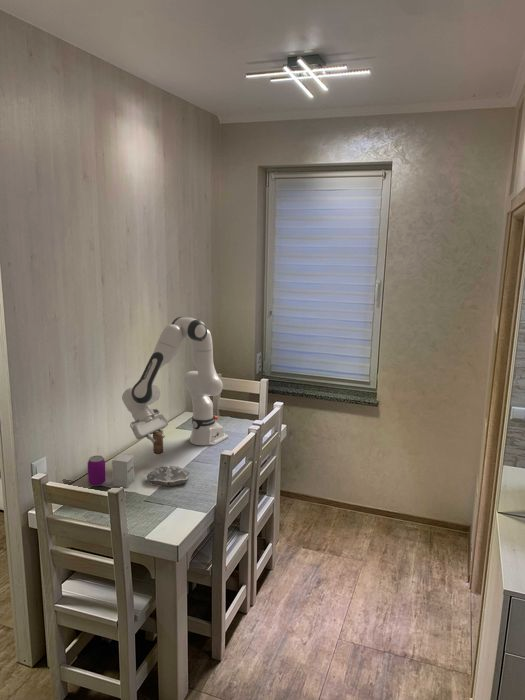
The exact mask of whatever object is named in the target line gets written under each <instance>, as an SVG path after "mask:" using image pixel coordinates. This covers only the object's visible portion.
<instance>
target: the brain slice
mask: <svg viewBox="0 0 525 700" xmlns="http://www.w3.org/2000/svg"><path fill="white" fill-rule="evenodd" d="M146 479H147V482H148V483H149V484H151V485H153V486H159V487H175V486H181V485H184V484H186V483H187V482H188V481H189V479H190V471H188V470H187V469H184V468H183V467H180V466H178V465H169V466H167V465H166V466H164V465H163V466H159V467H157V468H155V469H153V470H151V471H150V472H149V473H147V475H146Z"/></svg>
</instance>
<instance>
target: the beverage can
mask: <svg viewBox="0 0 525 700" xmlns="http://www.w3.org/2000/svg"><path fill="white" fill-rule="evenodd" d="M106 472H107V471H106V460H105V458H104V457H103V455H93V456H90V457H89V458H88V461H87V482H88V485H90V486H92V487H98V486H102V485H103V484H104V483H106V481H107V478H106V477H107V475H106Z"/></svg>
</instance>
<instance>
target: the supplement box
mask: <svg viewBox="0 0 525 700" xmlns="http://www.w3.org/2000/svg"><path fill="white" fill-rule="evenodd" d="M134 459H135V458H134V455H129V454H122V453H120V454H118V455H117V456H116V457H115V458H113V459H112V460H111V464H112V465H111V467H112V468H111V469H112V471H111V472H112V473H111V474H112V486H113V487H119V488H126V489H127V488H128V487H129V486H130V485H131V484H132V483H133V482H134V481H135V460H134Z"/></svg>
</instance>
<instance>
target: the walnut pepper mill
mask: <svg viewBox="0 0 525 700" xmlns="http://www.w3.org/2000/svg"><path fill="white" fill-rule="evenodd" d="M163 434H164V432H163V433H162V432H158V431H157V432H154V433H153V434H152V437H153V438H155V439H156V442H154V443H152V446H153V447H152V448H153V450H152V451H153V454H154V455H162V454H164V438H163Z"/></svg>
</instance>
